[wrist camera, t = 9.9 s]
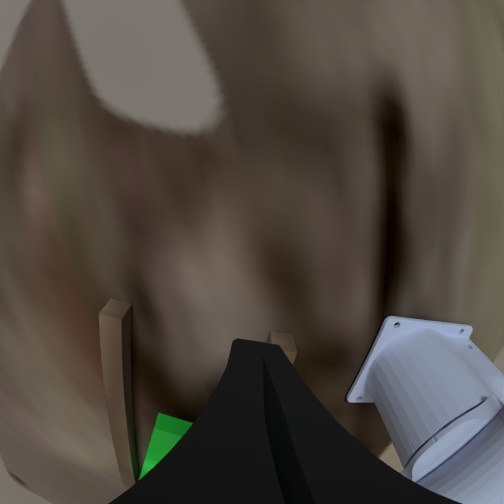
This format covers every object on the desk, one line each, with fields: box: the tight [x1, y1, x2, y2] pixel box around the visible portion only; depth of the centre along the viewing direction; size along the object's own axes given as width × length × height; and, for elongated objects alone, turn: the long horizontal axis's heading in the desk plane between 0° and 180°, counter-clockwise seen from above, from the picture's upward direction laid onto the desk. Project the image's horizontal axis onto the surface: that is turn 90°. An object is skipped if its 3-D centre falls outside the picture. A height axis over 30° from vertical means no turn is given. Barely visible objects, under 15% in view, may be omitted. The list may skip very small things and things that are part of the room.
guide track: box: [99, 299, 297, 490], centre depth 21 cm, size 12×25×3 cm, turn 168°
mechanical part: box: [139, 413, 193, 480], centre depth 20 cm, size 12×6×8 cm, turn 158°
